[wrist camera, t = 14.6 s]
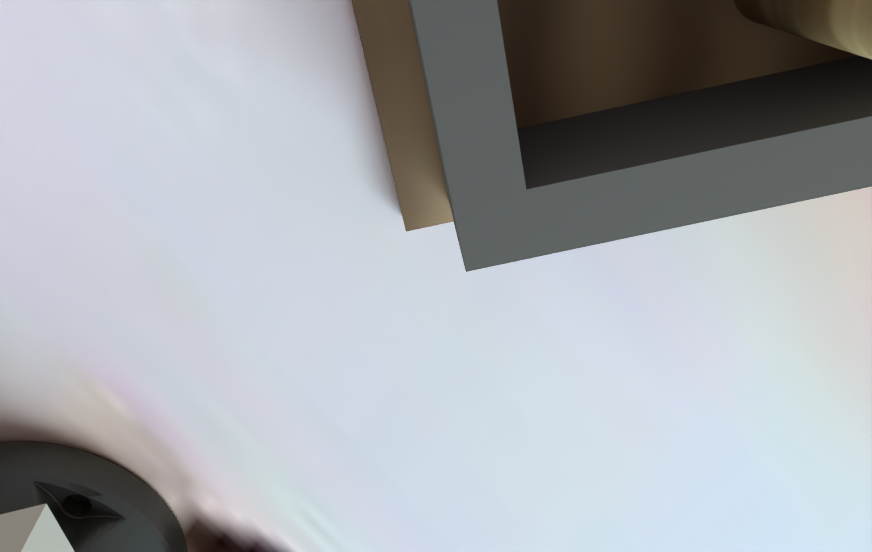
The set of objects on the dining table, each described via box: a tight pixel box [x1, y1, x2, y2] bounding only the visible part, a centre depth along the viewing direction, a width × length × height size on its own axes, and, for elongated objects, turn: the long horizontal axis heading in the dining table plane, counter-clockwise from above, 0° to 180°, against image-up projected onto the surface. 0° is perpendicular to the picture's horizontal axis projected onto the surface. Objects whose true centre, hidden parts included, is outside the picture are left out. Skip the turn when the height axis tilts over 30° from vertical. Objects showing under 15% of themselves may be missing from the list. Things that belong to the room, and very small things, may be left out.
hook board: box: [352, 0, 872, 231], centre depth 24 cm, size 24×14×16 cm, turn 101°
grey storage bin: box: [408, 0, 872, 272], centre depth 27 cm, size 20×12×7 cm, turn 101°
